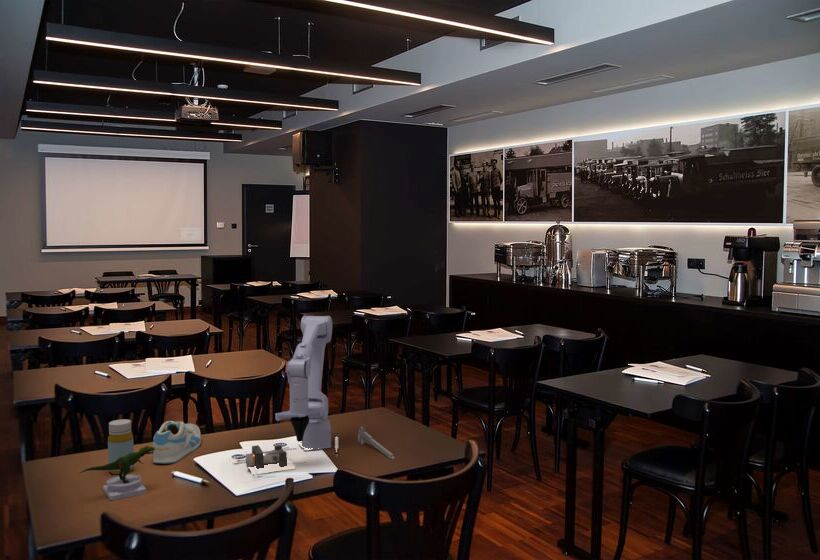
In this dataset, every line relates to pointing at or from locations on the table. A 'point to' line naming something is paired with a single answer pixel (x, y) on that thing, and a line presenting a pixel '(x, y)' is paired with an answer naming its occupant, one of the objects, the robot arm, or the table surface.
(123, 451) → the bottle
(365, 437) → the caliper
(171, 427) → the sneaker
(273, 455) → the tube
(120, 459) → the dinosaur figurine
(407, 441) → the table surface
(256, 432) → the table surface
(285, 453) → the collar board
